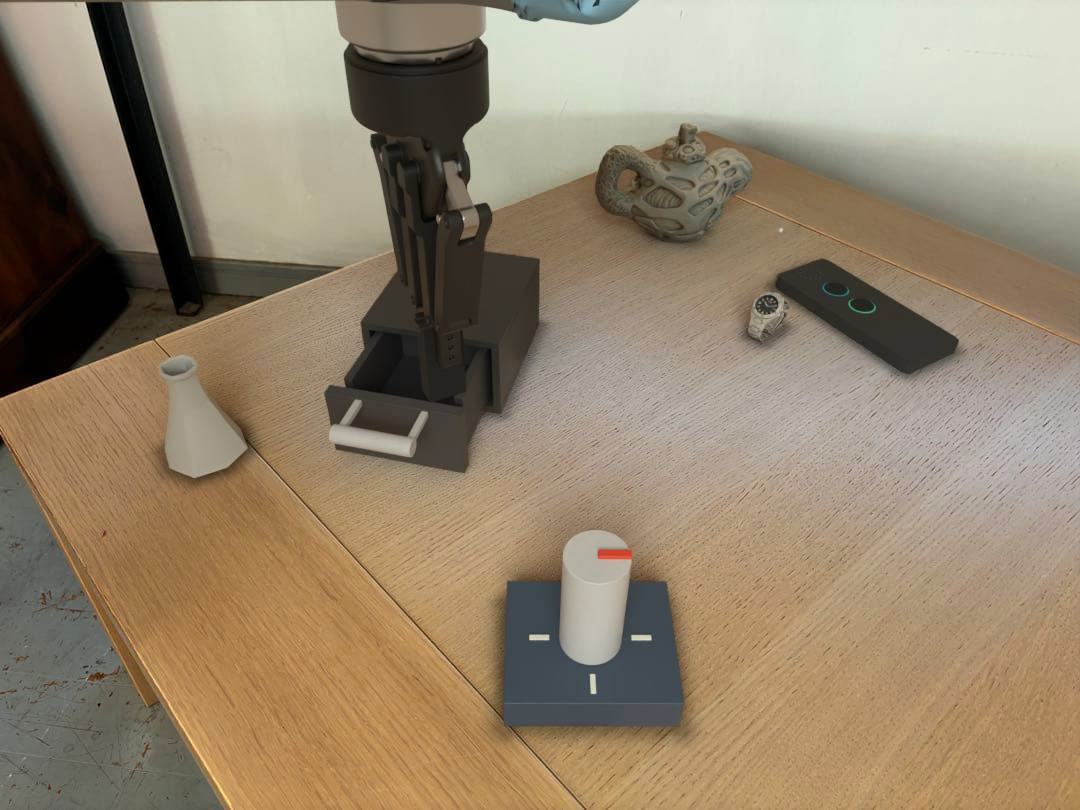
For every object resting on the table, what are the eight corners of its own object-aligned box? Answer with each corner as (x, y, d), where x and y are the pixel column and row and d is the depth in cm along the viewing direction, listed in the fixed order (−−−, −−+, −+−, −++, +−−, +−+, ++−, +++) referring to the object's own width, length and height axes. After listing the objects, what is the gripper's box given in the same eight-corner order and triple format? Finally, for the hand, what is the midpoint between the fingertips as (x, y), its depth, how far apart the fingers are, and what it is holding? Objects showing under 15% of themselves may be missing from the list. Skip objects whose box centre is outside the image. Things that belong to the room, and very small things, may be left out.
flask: (262, 450, 77) (238, 365, 70) (190, 490, 73) (157, 404, 66) (221, 414, 81) (195, 330, 74) (151, 451, 77) (116, 365, 70)
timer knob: (559, 665, 57) (563, 581, 51) (558, 611, 60) (561, 526, 54) (624, 665, 57) (635, 581, 51) (619, 611, 60) (629, 526, 54)
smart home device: (825, 255, 101) (963, 338, 88) (821, 268, 103) (957, 351, 90) (774, 273, 98) (910, 362, 85) (771, 286, 99) (905, 375, 86)
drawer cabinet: (501, 414, 81) (499, 343, 75) (371, 392, 83) (359, 321, 78) (539, 325, 93) (539, 258, 87) (424, 308, 95) (417, 241, 89)
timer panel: (503, 726, 56) (503, 702, 54) (507, 604, 64) (507, 579, 62) (679, 726, 57) (685, 702, 55) (662, 605, 64) (666, 579, 62)
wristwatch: (738, 337, 91) (746, 299, 88) (768, 314, 95) (777, 277, 91) (766, 351, 89) (775, 312, 86) (795, 327, 93) (805, 289, 90)
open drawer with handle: (446, 514, 70) (441, 453, 65) (311, 488, 72) (296, 426, 67) (508, 375, 84) (507, 316, 80) (394, 357, 86) (386, 298, 82)
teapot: (722, 204, 115) (740, 96, 105) (764, 244, 107) (787, 130, 97) (578, 226, 110) (583, 114, 100) (610, 269, 102) (618, 152, 92)
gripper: (537, 67, 40) (534, 430, 55) (435, -1, 49) (456, 329, 64) (389, 92, 37) (429, 466, 52) (309, 15, 46) (363, 355, 61)
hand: (444, 390), depth 58 cm, fingers closed
